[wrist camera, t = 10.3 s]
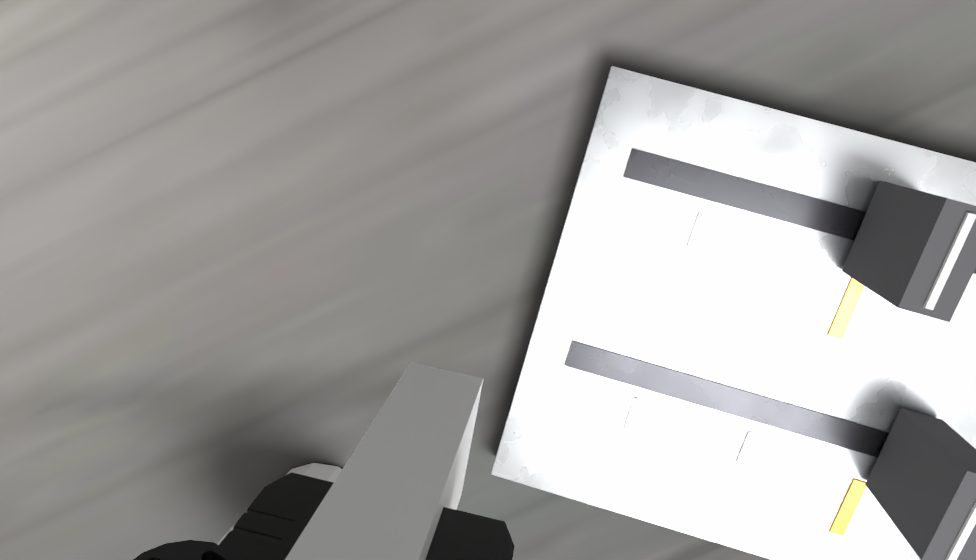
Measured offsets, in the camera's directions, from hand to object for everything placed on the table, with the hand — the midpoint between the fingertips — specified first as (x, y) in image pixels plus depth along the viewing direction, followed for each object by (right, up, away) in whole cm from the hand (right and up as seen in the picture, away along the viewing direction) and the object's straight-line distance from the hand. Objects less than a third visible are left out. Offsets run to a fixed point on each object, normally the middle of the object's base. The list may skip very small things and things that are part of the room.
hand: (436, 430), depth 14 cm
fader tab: (+22, -6, +20) cm, 30 cm away
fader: (+19, +5, +18) cm, 27 cm away
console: (+16, 0, +22) cm, 27 cm away
